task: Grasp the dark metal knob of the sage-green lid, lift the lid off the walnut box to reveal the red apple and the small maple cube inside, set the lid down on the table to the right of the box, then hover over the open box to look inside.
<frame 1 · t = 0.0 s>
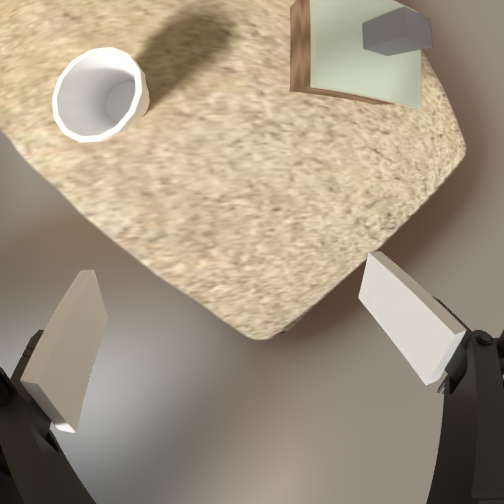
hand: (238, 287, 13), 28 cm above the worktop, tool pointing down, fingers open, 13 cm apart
box: (335, 54, 32), on the worktop
lid: (368, 42, 24), point 9 cm above the worktop, touching box
foam cup: (127, 102, 31), on the worktop
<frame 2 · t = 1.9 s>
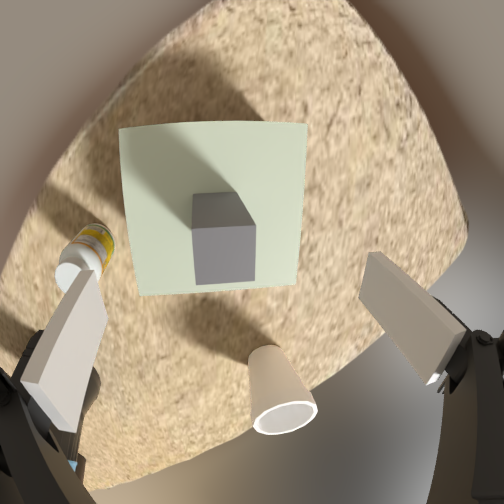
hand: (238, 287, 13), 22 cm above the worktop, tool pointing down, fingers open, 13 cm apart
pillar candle: (71, 454, 56), on the worktop
supplement bottle: (97, 241, 33), on the worktop
lid: (214, 207, 24), point 9 cm above the worktop, touching box
foam cup: (265, 357, 46), on the worktop
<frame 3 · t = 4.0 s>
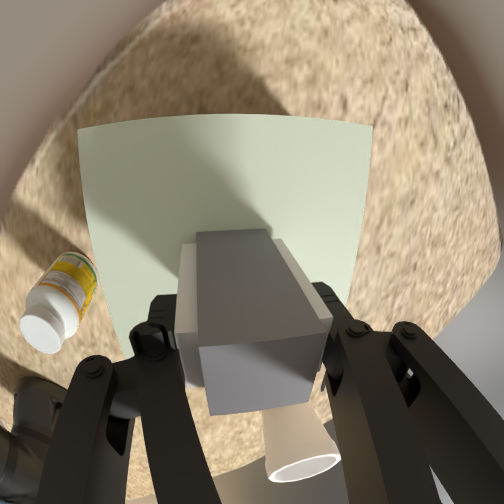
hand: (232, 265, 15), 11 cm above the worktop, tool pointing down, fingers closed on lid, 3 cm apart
supplement bottle: (76, 272, 25), on the worktop
lid: (228, 248, 16), point 9 cm above the worktop, touching box, gripper
foam cup: (281, 395, 38), on the worktop
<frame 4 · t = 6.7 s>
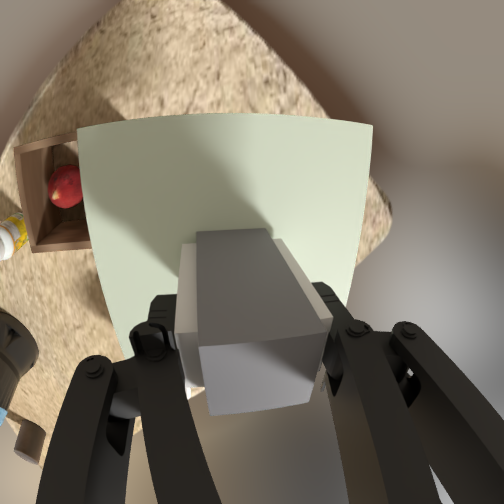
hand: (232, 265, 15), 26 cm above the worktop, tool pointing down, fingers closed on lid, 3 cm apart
box: (89, 179, 35), on the worktop
red apple: (78, 180, 34), resting in box
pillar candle: (33, 426, 59), on the worktop
supplement bottle: (22, 226, 35), on the worktop
lid: (228, 248, 16), point 24 cm above the worktop, touching gripper
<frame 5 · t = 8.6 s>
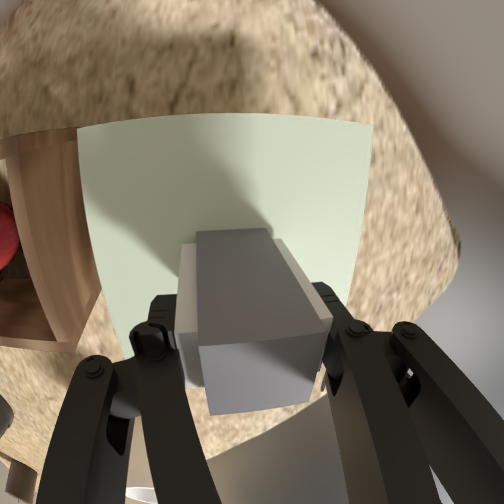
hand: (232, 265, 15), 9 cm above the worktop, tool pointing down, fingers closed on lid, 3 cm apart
box: (26, 219, 19), on the worktop
red apple: (13, 220, 19), resting in box
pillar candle: (24, 466, 43), on the worktop
lid: (228, 247, 16), point 7 cm above the worktop, touching gripper
foam cup: (158, 414, 33), on the worktop
when the fingers open (4 cm above the worktop, at t = 9.7 s): lid drops 2 cm, on the worktop.
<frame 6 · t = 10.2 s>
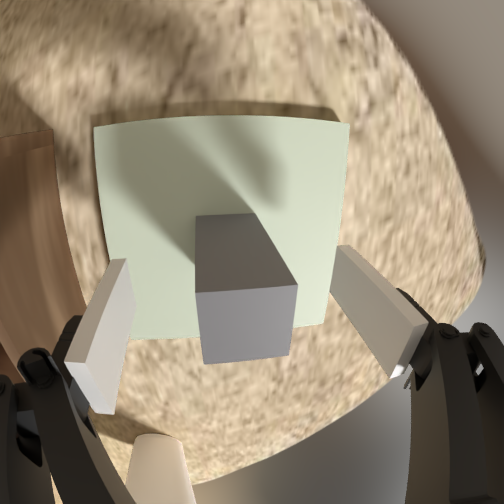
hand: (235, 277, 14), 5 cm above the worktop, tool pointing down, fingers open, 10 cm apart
lid: (223, 232, 19), on the worktop
foam cup: (158, 442, 29), on the worktop
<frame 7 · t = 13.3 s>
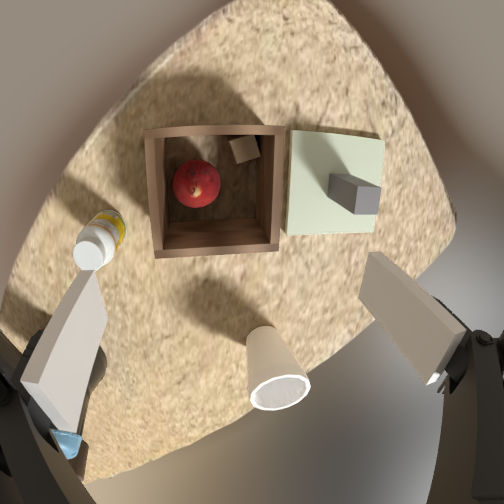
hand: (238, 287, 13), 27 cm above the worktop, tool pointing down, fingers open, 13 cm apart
box: (211, 177, 36), on the worktop
red apple: (196, 177, 36), resting in box
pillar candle: (74, 441, 61), on the worktop
supplement bottle: (110, 226, 37), on the worktop
lid: (334, 183, 40), on the worktop
maple cube: (242, 147, 35), resting in box
foam cup: (263, 338, 50), on the worktop
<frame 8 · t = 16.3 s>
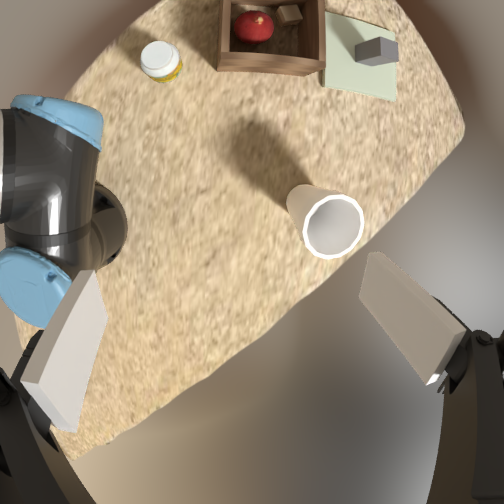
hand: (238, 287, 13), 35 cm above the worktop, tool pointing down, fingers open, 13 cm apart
box: (262, 34, 35), on the worktop
red apple: (249, 34, 35), resting in box
supplement bottle: (165, 68, 35), on the worktop
lid: (359, 57, 39), on the worktop
maple cube: (286, 18, 34), resting in box
foam cup: (302, 201, 49), on the worktop
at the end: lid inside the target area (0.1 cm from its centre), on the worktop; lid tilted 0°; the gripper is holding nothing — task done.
